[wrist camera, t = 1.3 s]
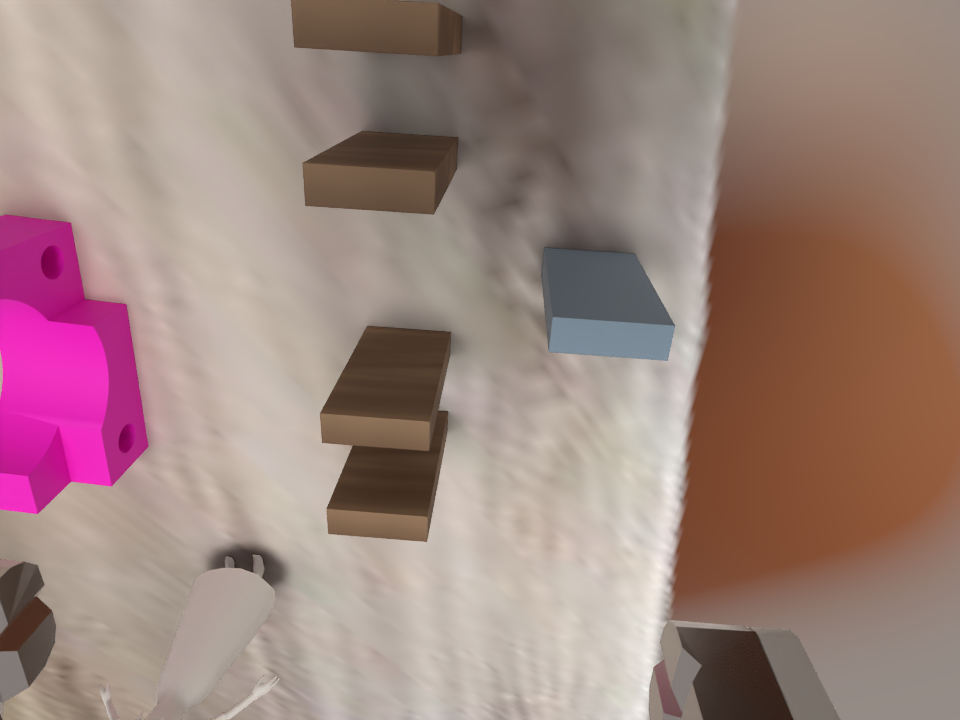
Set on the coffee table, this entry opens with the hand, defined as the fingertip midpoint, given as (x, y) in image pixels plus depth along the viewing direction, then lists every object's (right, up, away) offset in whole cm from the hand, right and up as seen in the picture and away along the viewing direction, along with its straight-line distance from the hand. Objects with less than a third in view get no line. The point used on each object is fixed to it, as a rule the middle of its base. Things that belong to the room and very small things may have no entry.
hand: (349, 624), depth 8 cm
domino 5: (+8, +9, +27) cm, 29 cm away
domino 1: (-2, +19, +22) cm, 30 cm away
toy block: (-23, +5, +31) cm, 39 cm away
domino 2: (-2, +14, +25) cm, 29 cm away
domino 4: (-3, 0, +32) cm, 32 cm away
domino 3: (-3, +5, +30) cm, 30 cm away
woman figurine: (-16, -12, +39) cm, 43 cm away
